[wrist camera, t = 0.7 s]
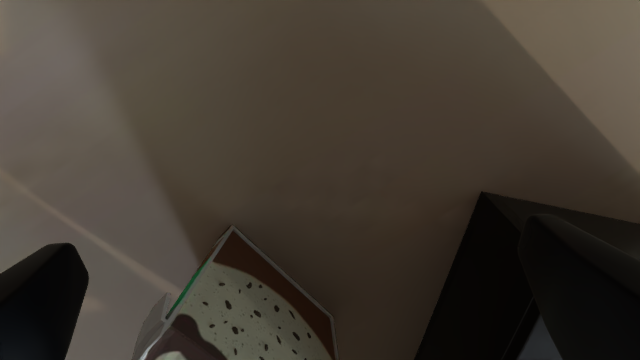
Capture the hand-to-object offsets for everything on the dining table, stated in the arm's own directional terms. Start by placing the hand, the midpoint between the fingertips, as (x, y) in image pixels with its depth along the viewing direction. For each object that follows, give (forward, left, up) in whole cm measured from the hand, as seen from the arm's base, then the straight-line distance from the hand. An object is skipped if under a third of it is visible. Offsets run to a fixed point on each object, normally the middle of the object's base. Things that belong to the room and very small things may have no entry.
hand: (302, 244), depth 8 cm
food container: (-13, +1, -15) cm, 20 cm away
